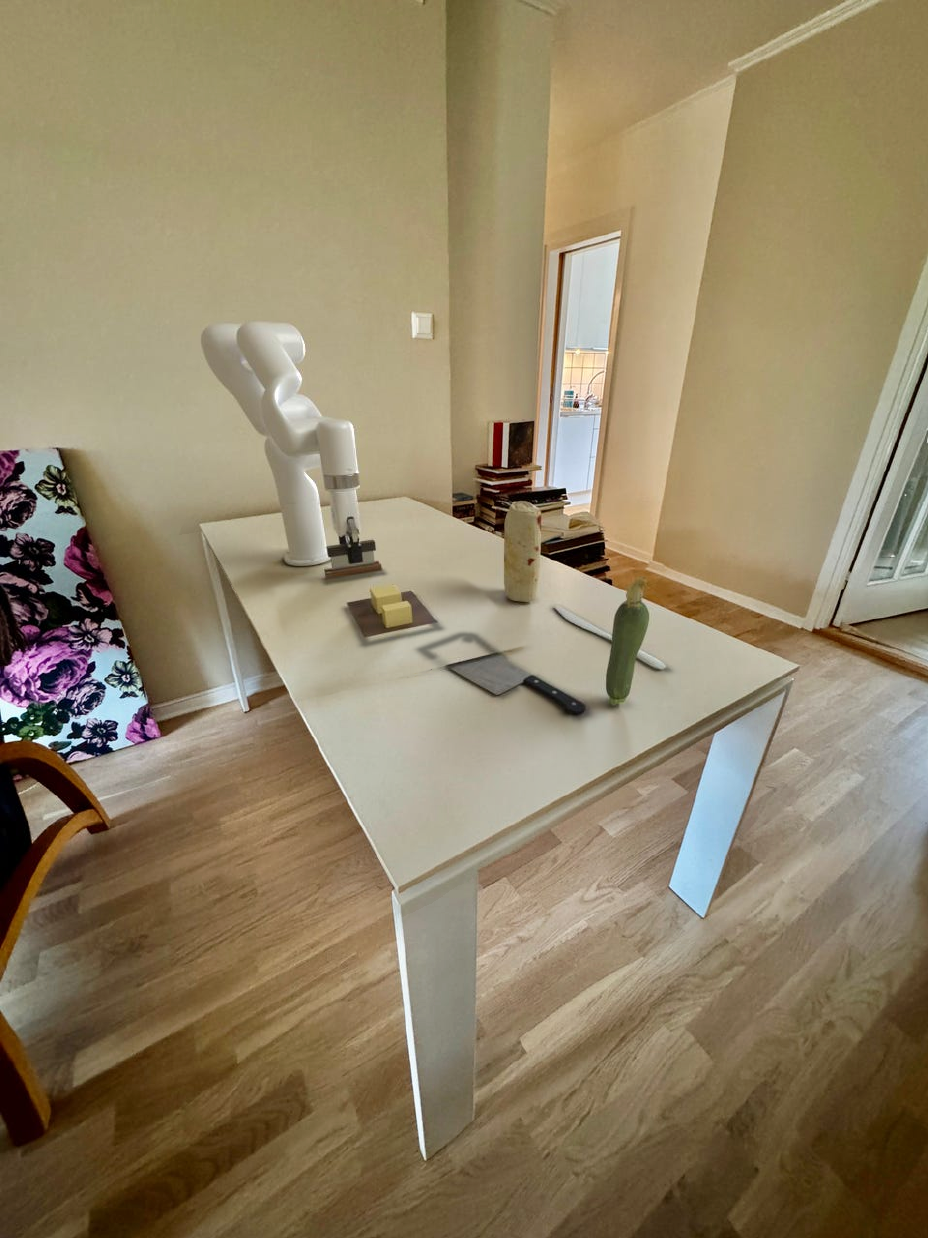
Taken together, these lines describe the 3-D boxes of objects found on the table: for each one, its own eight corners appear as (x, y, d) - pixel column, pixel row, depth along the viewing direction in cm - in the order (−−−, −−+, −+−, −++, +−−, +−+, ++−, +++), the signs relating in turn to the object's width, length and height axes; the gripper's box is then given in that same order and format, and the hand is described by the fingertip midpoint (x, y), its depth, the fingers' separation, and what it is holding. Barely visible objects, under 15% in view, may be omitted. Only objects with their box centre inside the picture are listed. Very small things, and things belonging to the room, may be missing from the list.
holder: (325, 578, 114) (324, 569, 112) (379, 570, 118) (378, 560, 117) (327, 583, 111) (326, 573, 110) (382, 574, 116) (381, 564, 114)
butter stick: (371, 604, 97) (369, 588, 96) (395, 599, 99) (394, 583, 97) (377, 614, 93) (375, 597, 92) (402, 609, 95) (401, 593, 93)
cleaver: (542, 738, 63) (592, 707, 68) (543, 734, 63) (592, 704, 68) (421, 649, 84) (466, 631, 89) (421, 647, 84) (466, 629, 89)
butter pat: (382, 622, 90) (381, 605, 88) (408, 617, 92) (407, 600, 90) (386, 628, 88) (384, 611, 86) (412, 622, 90) (411, 605, 88)
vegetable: (598, 693, 72) (615, 568, 63) (626, 691, 72) (648, 566, 63) (609, 711, 68) (629, 581, 59) (638, 709, 68) (663, 579, 59)
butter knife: (655, 670, 76) (668, 664, 77) (548, 608, 97) (560, 603, 98) (655, 673, 76) (668, 667, 77) (548, 610, 97) (560, 606, 98)
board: (347, 608, 99) (346, 602, 98) (412, 596, 104) (411, 590, 103) (365, 644, 86) (364, 637, 85) (438, 628, 91) (438, 621, 90)
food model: (545, 602, 100) (552, 506, 91) (518, 608, 98) (521, 511, 88) (521, 585, 108) (525, 496, 99) (495, 591, 106) (496, 500, 96)
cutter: (331, 579, 113) (326, 546, 110) (376, 571, 117) (373, 539, 113) (332, 582, 112) (327, 548, 108) (378, 574, 116) (375, 541, 112)
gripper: (318, 475, 110) (329, 547, 118) (330, 491, 96) (342, 571, 104) (350, 472, 113) (359, 543, 121) (367, 487, 98) (376, 565, 106)
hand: (351, 555), depth 112 cm, fingers open, 9 cm apart
